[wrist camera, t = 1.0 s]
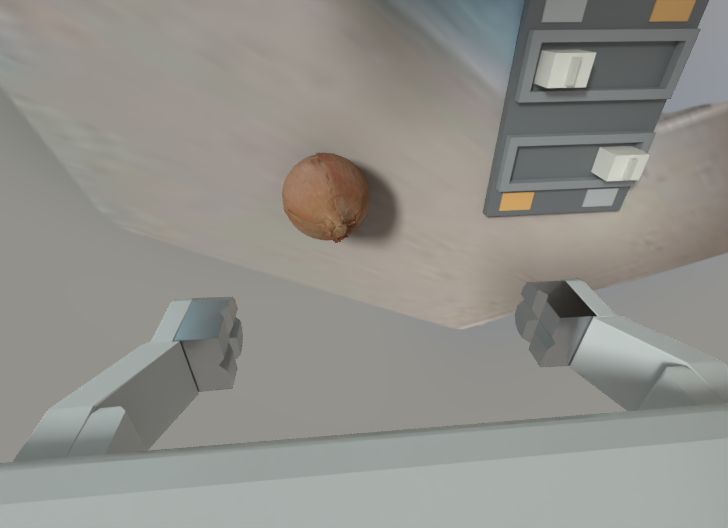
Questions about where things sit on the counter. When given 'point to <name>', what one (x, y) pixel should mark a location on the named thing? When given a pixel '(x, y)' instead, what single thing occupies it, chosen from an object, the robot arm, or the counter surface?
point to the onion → (326, 197)
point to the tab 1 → (563, 68)
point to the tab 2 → (620, 163)
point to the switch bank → (586, 100)
